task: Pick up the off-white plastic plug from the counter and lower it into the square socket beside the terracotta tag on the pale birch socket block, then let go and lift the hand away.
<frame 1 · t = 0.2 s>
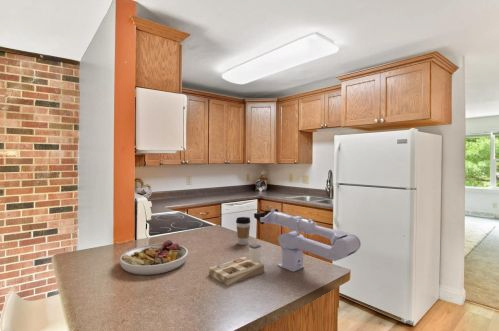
hand: (260, 214, 140), 21 cm above the counter, tool horizontal, fingers open, 7 cm apart
coffee cup: (243, 243, 161), on the counter
plug: (254, 261, 133), on the counter
socket block: (236, 273, 119), on the counter
bowl: (155, 264, 130), on the counter
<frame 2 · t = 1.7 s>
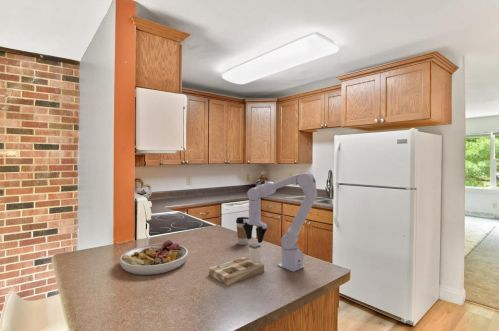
hand: (254, 240, 133), 10 cm above the counter, tool pointing down, fingers open, 7 cm apart
nothing on the counter moved.
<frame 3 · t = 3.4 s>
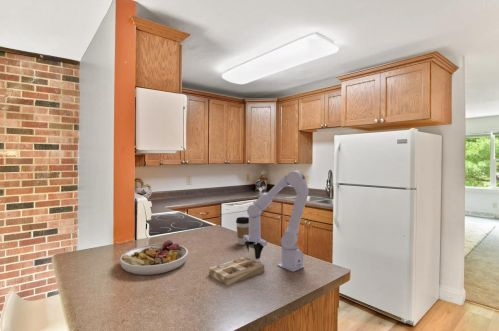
hand: (254, 257, 133), 2 cm above the counter, tool pointing down, fingers closed on plug, 4 cm apart
plug: (254, 261, 133), on the counter, touching gripper
everything else where it was.
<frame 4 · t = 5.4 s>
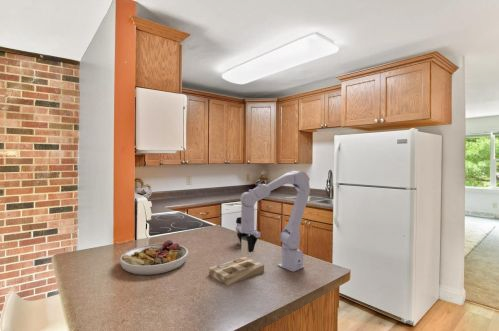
hand: (247, 250, 122), 9 cm above the counter, tool pointing down, fingers closed on plug, 4 cm apart
plug: (247, 254, 122), point 7 cm above the counter, touching gripper
everything else where it was.
when the fingers open (4 cm above the counter, at t = 7.6 s): plug drops 2 cm, resting in socket block.
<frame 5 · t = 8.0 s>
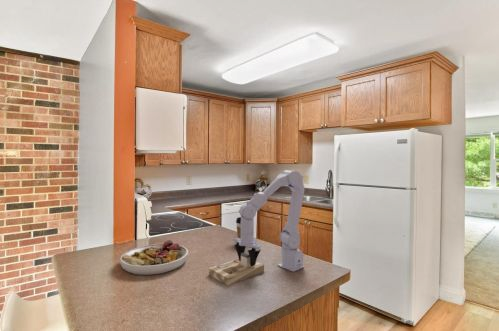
hand: (247, 262, 121), 4 cm above the counter, tool pointing down, fingers open, 7 cm apart
plug: (247, 271, 121), resting in socket block
everything else where it was.
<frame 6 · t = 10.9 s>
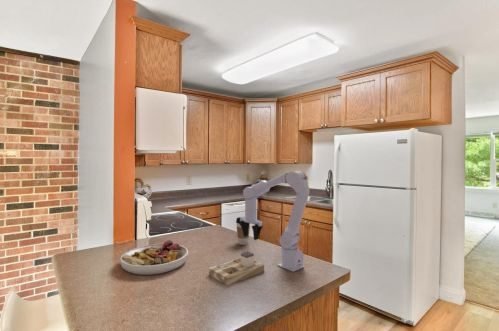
hand: (250, 237, 138), 10 cm above the counter, tool pointing down, fingers open, 7 cm apart
nothing on the counter moved.
at the end: plug 0.1 cm from the target spot on the socket block, point 0.0 cm above the socket block's base; plug tilted 0°; the gripper is holding nothing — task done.
